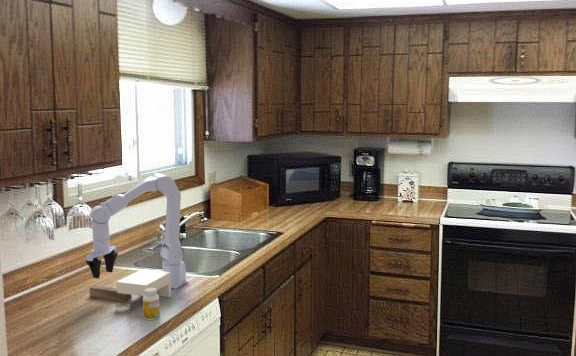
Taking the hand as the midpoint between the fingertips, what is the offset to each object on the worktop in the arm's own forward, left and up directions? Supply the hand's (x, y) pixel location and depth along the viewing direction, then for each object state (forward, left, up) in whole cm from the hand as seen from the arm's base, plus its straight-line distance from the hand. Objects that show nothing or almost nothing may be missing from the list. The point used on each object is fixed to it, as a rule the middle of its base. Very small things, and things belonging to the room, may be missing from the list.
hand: (103, 274), depth 212 cm
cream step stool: (-1, +17, -8) cm, 19 cm away
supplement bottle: (+12, +28, -8) cm, 32 cm away
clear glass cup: (+10, +15, -8) cm, 20 cm away
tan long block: (0, +3, -9) cm, 9 cm away
